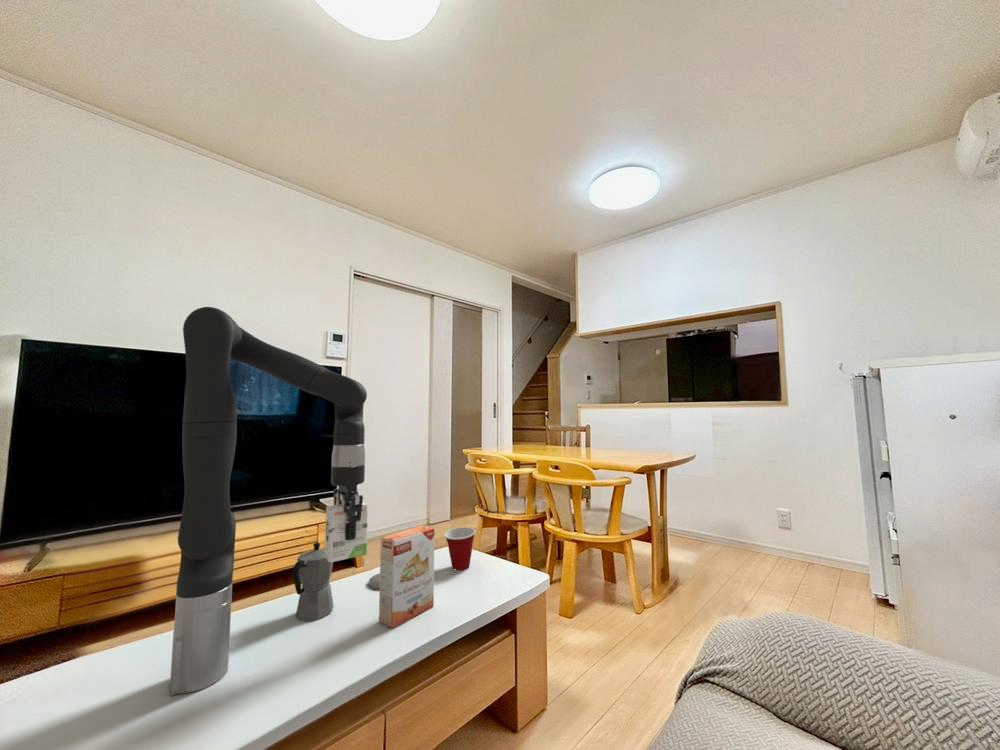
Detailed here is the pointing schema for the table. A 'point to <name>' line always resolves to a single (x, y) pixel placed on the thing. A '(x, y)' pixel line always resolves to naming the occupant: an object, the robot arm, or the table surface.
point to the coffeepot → (313, 585)
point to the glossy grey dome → (375, 581)
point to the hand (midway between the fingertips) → (346, 536)
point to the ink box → (335, 535)
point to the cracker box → (406, 575)
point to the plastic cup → (460, 546)
